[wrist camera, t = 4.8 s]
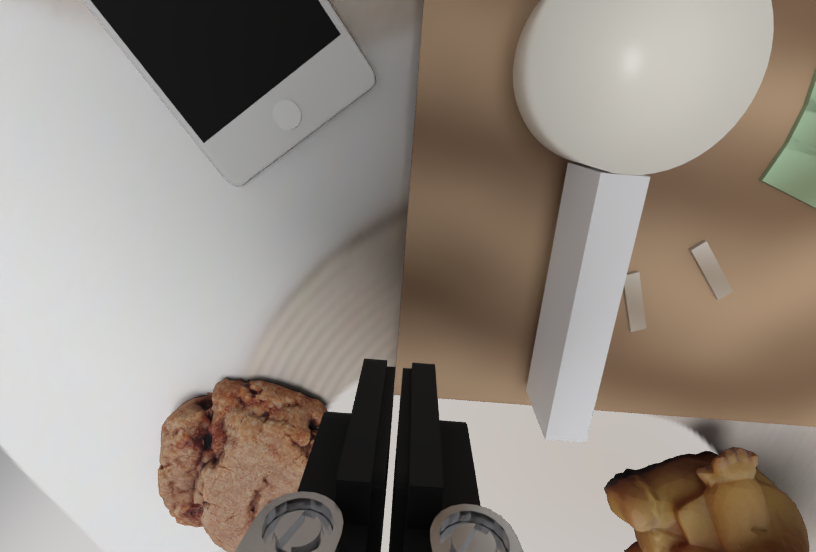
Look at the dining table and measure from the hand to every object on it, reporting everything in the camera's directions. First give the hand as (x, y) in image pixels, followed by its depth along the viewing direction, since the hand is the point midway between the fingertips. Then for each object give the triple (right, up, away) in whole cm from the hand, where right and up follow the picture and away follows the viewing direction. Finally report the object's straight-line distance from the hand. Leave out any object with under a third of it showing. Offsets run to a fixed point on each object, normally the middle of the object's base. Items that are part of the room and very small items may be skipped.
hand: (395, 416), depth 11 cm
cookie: (-7, -6, +13) cm, 16 cm away
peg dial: (+6, +6, +5) cm, 10 cm away
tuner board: (+9, +8, +7) cm, 14 cm away
